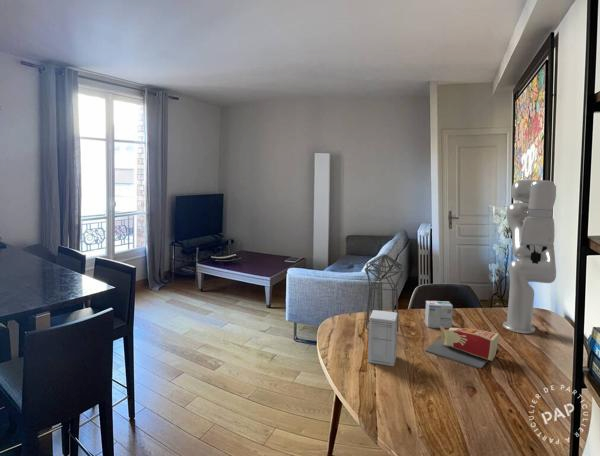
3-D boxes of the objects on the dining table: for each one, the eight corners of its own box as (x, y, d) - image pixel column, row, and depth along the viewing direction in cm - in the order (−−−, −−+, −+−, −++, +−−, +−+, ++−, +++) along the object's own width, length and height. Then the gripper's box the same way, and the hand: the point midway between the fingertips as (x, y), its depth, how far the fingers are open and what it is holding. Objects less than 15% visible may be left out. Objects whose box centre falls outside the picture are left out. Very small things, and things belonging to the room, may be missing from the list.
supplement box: (396, 355, 140) (398, 312, 138) (394, 367, 131) (396, 320, 129) (370, 351, 143) (372, 309, 141) (367, 362, 134) (368, 317, 132)
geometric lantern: (362, 341, 152) (364, 256, 148) (364, 328, 167) (366, 250, 164) (402, 345, 148) (405, 258, 145) (401, 331, 163) (404, 252, 160)
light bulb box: (447, 323, 173) (449, 301, 172) (452, 329, 167) (453, 305, 165) (424, 322, 174) (425, 299, 173) (427, 327, 168) (428, 304, 166)
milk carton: (498, 334, 140) (444, 319, 152) (493, 339, 133) (436, 323, 145) (495, 357, 140) (441, 341, 153) (489, 364, 133) (433, 346, 146)
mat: (446, 334, 160) (446, 333, 160) (497, 349, 147) (498, 347, 147) (425, 351, 143) (425, 350, 143) (480, 369, 130) (480, 367, 130)
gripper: (514, 213, 140) (510, 261, 142) (562, 216, 130) (557, 267, 133) (519, 212, 146) (515, 258, 148) (565, 215, 136) (560, 264, 138)
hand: (535, 262), depth 140 cm, fingers closed
